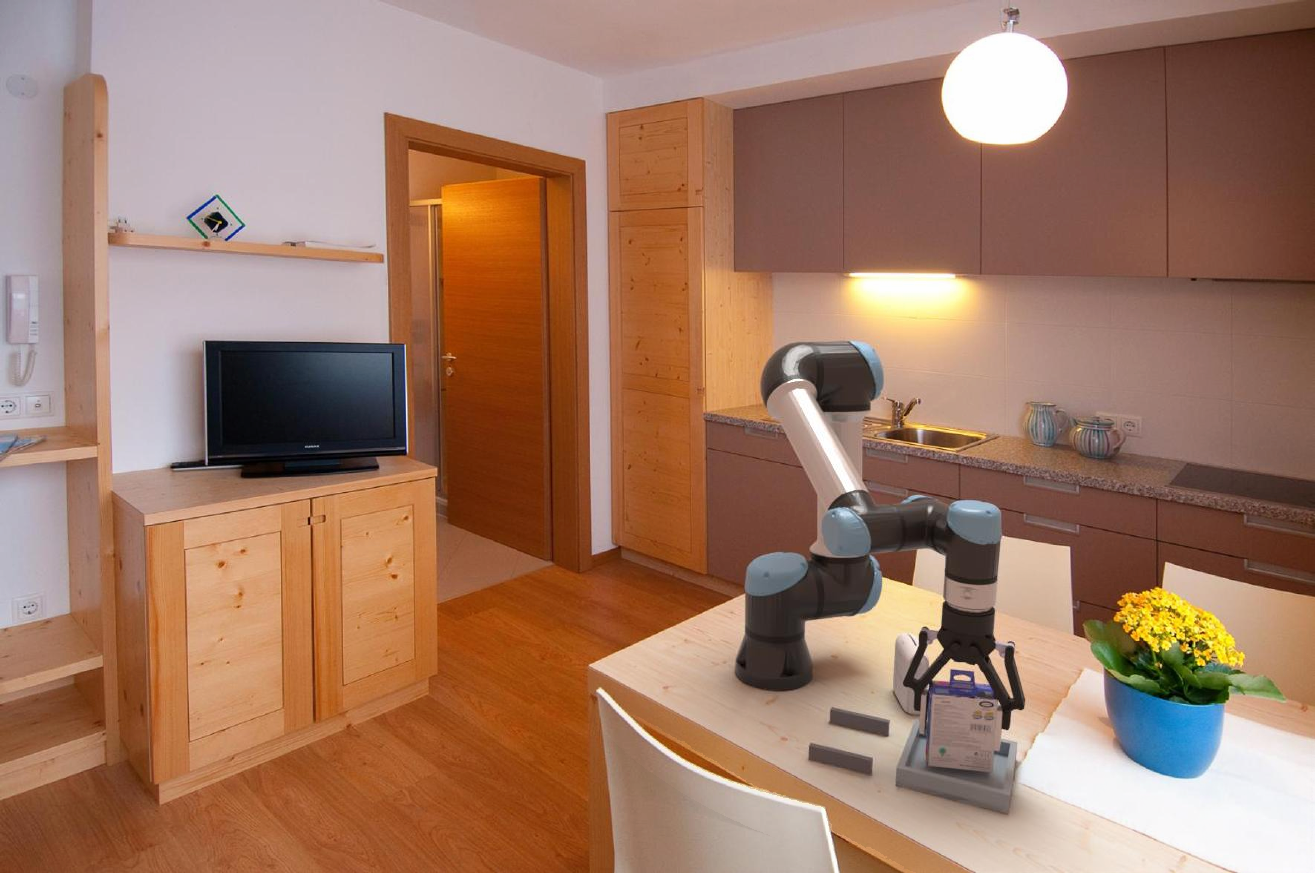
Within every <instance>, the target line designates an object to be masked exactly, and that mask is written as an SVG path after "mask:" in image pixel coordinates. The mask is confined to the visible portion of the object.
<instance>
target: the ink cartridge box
mask: <svg viewBox="0 0 1315 873" xmlns="http://www.w3.org/2000/svg"><path fill="white" fill-rule="evenodd" d="M949 672H950V675H949V681H946V680H933V679H932V681H931V682H930V683H929V684H928V689H929V695H928V716H927V737H926V749H925V754H926V760H927V765H928V766H934V767H944V768H954V769H964V770H973V771H983V772H993V760H994V744H995V730H996V717H997V708H998V703H999V701H998V699H997V698H996V696H995V694H994V692H993V690H992V688H991V687H990V685H989V683H976V681H975V678H976V677H975V671H972V670H965V669H964V670H962V669H953V668H952V669H950V671H949ZM956 676H966V677H968V678H970V679H969V680H964V679H963V680H962V679H955V677H956Z"/></svg>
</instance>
